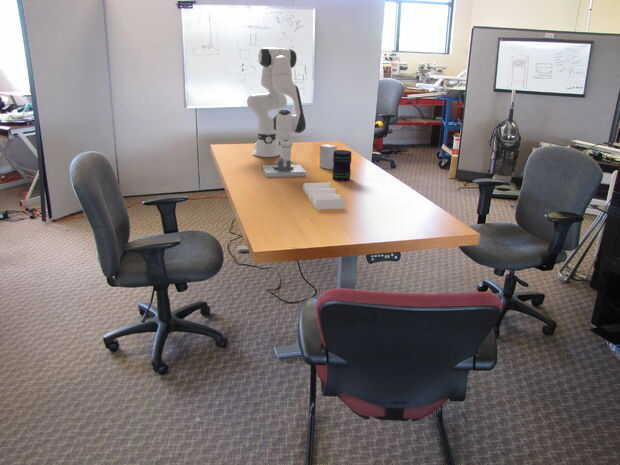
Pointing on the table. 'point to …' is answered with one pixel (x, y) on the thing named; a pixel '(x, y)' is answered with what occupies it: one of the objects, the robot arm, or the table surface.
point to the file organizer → (323, 196)
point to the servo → (280, 164)
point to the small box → (327, 156)
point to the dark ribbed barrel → (341, 165)
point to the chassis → (283, 171)
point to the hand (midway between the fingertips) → (283, 165)
